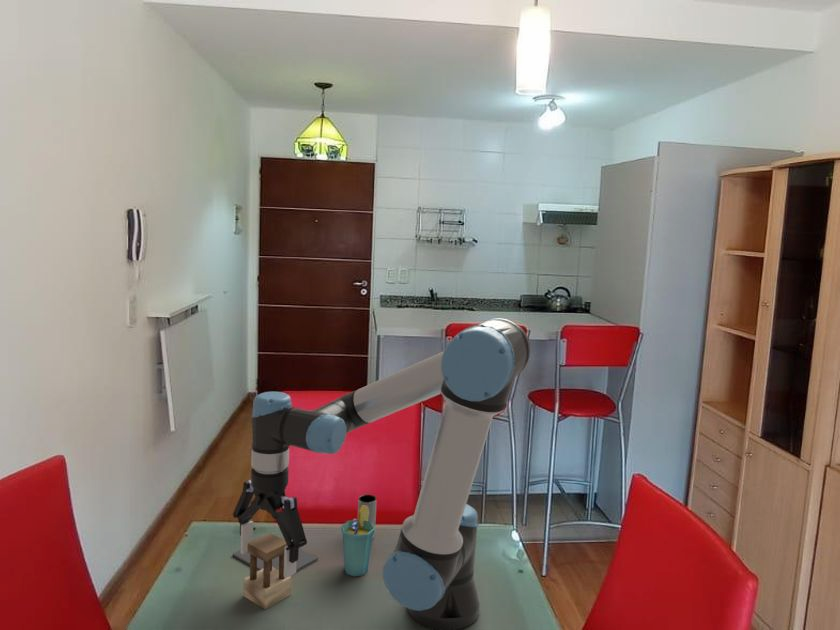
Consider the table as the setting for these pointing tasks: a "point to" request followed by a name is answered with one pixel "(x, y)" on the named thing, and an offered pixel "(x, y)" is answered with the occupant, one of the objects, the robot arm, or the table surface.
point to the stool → (266, 556)
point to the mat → (302, 562)
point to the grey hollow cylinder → (371, 503)
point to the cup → (357, 543)
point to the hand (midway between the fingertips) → (267, 562)
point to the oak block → (267, 589)
